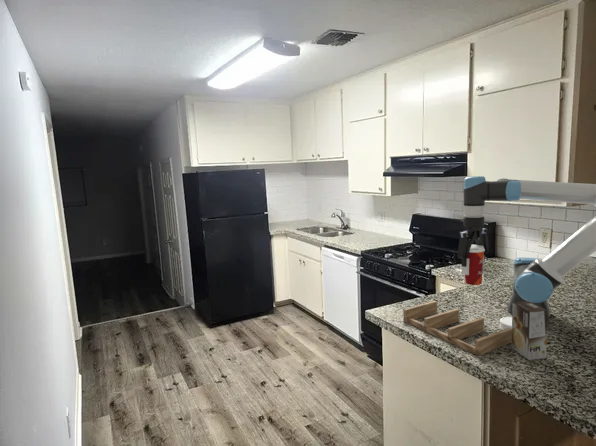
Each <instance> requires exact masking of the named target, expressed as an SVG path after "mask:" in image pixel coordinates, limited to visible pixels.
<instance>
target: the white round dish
mask: <svg viewBox="0 0 596 446" xmlns="http://www.w3.org/2000/svg"><path fill="white" fill-rule="evenodd" d="M507 328H512V316H503V317H501V318H500V319H499V329H500V331H501V330H504V329H507Z"/></svg>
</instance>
